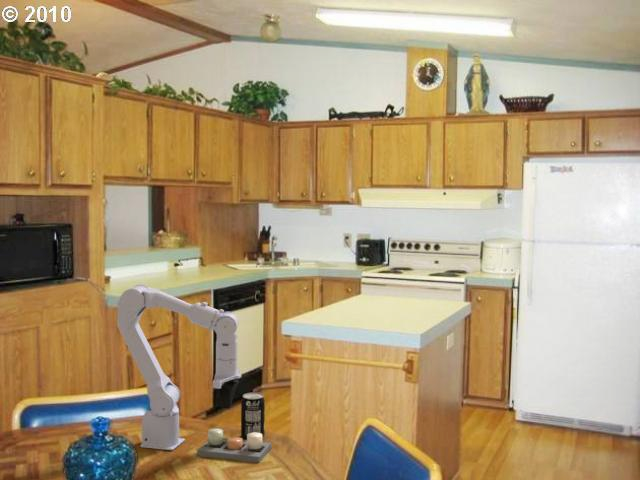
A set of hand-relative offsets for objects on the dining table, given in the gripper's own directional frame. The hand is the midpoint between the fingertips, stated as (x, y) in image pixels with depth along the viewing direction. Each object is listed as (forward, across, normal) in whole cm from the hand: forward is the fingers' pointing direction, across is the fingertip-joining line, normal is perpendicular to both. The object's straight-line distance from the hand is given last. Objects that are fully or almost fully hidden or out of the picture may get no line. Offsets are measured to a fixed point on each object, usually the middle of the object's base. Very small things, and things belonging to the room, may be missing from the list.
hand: (226, 407), depth 181 cm
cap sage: (+8, -4, +1) cm, 9 cm away
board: (+10, -4, -4) cm, 12 cm away
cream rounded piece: (+8, -4, -10) cm, 13 cm away
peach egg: (+10, -4, -4) cm, 12 cm away
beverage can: (+11, +8, -5) cm, 14 cm away
